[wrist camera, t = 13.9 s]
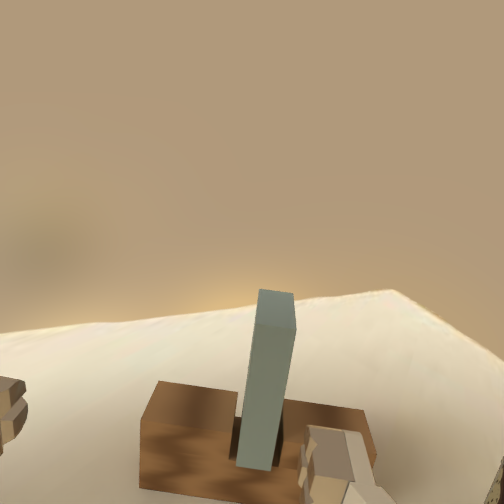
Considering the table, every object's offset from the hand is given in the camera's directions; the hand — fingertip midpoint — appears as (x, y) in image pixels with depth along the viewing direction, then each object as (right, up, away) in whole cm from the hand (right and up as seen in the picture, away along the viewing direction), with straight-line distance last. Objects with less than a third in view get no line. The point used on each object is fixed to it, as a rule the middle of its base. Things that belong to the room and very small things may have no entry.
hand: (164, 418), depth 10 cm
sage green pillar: (+3, -13, +23) cm, 27 cm away
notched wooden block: (+2, -17, +25) cm, 31 cm away
